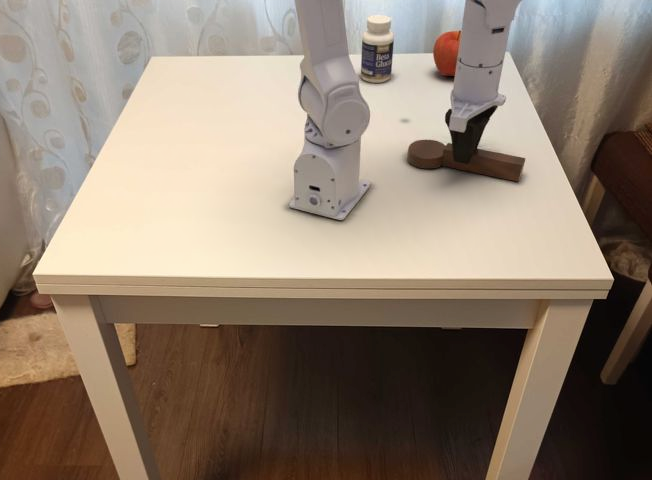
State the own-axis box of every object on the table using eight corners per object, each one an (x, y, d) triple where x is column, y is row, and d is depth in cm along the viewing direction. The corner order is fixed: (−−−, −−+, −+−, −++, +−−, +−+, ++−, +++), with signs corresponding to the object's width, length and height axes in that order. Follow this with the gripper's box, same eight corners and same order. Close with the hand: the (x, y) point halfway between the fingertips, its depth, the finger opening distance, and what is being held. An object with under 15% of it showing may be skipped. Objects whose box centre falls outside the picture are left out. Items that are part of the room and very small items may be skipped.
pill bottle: (376, 86, 110) (379, 26, 104) (354, 77, 113) (356, 19, 106) (397, 77, 113) (401, 18, 106) (375, 68, 116) (378, 10, 109)
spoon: (524, 168, 90) (528, 151, 88) (515, 188, 86) (519, 171, 84) (415, 146, 95) (416, 130, 93) (401, 163, 92) (403, 147, 90)
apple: (464, 65, 116) (471, 18, 110) (478, 81, 111) (486, 33, 105) (425, 68, 115) (430, 21, 109) (437, 85, 110) (443, 37, 104)
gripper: (497, 86, 74) (477, 188, 84) (525, 42, 83) (505, 139, 93) (438, 77, 76) (426, 177, 86) (472, 35, 85) (458, 131, 95)
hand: (464, 157), depth 90 cm, fingers closed on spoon, 2 cm apart
